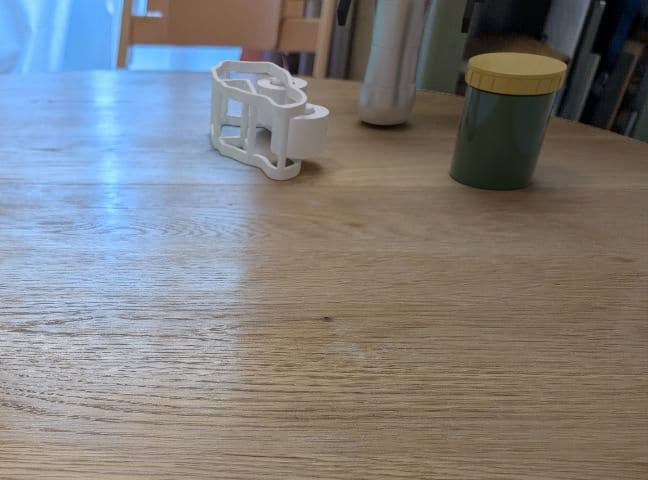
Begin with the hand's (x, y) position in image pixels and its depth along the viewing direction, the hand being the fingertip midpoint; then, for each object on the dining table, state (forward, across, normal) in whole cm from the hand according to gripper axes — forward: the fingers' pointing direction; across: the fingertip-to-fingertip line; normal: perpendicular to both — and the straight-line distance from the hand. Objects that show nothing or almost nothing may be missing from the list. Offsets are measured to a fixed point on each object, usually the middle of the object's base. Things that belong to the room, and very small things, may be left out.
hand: (401, 22), depth 96 cm
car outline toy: (+18, +11, +2) cm, 21 cm away
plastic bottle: (+8, 0, -8) cm, 11 cm away
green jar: (+18, -13, +2) cm, 22 cm away
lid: (+11, -13, +10) cm, 19 cm away
